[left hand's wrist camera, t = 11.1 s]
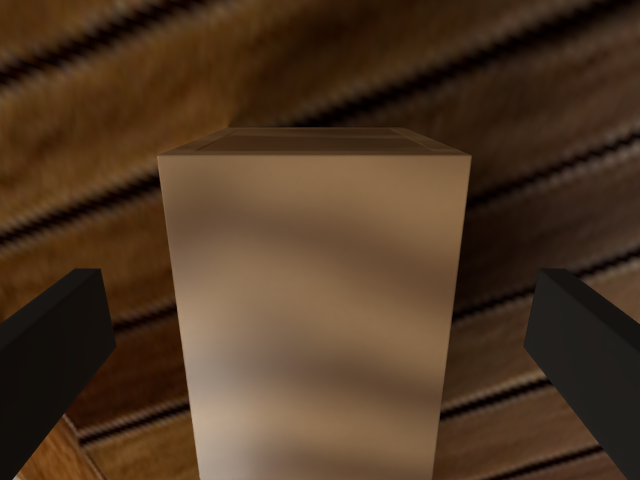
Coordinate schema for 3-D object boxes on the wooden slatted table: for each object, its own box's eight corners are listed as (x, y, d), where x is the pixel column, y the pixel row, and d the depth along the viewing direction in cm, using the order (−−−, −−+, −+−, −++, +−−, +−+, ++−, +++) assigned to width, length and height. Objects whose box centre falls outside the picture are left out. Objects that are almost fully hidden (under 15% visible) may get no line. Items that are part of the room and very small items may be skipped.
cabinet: (387, 384, 32) (424, 539, 21) (245, 384, 32) (207, 541, 21) (404, 127, 25) (472, 154, 14) (226, 127, 25) (156, 155, 14)
